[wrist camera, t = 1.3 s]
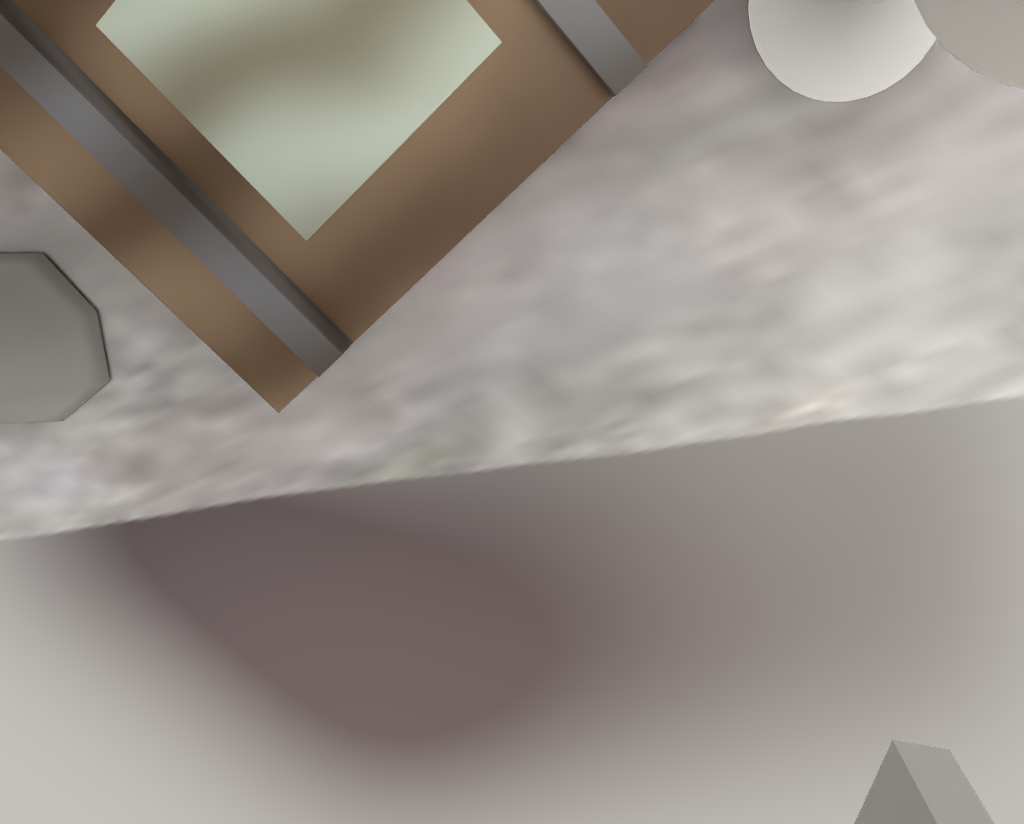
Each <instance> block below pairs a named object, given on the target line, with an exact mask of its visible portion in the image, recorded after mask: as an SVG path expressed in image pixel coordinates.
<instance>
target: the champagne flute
mask: <svg viewBox="0 0 1024 824" xmlns="http://www.w3.org/2000/svg"><path fill="white" fill-rule="evenodd" d="M748 13H749V22H750V30H751V33H752V36H753V40H754V43H755V46H756V49H757V51H758V53H759V55H760V56H761V58H762V60H763V62H764V63H765V65H766V67H767V68H768V69H769V70H770V71H771V72H772V73H773V75H774V76H775V77H776V78H777V79H778V80H779V81H780V82H782V83H783V84H784V85H786V86H787V87H788V88H790V89H791V90H793V91H794V92H797V93H799V94H801V95H804V96H806V97H808V98H811V99H816V100H822V101H827V102H844V101H852V100H857V99H861V98H865V97H869V96H871V95H873V94H876V93H878V92H880V91H882V90H885V89H887V88H888V87H890V86H891V85H893V84H894V83H896V82H897V81H899V80H900V79H902V78H903V77H905V76H906V75H907V74H908V73H909V72H910V71H911V70H912V69H913V68H914V67H915V66H916V65H917V64H918V63H919V62H920V61H921V60H922V59H923V57H924V56H925V55H926V53H927V52H928V51H929V49H930V48H931V47H932V45H933V44H934V42H935V40H936V38H937V39H938V41H939V42H940V43H941V44H942V45H943V47H944V48H945V49H946V50H947V51H948V52H949V53H950V54H952V55H953V56H954V57H956V58H957V59H958V60H960V61H961V62H962V63H964V64H965V65H966V66H968V67H969V68H970V69H971V70H973V71H976V72H978V73H980V74H983V75H985V76H987V77H990V78H992V79H994V80H996V81H999V82H1001V83H1003V84H1006V85H1008V86H1012V87H1018V88H1023V89H1024V0H749V2H748Z"/></svg>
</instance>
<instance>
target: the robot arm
mask: <svg viewBox="0 0 1024 824" xmlns="http://www.w3.org/2000/svg"><path fill="white" fill-rule="evenodd" d="M855 824H994V822H993V821H992V819H991V817H990V816H989V814H988V812H987V811H986V809H985V807H984V806H983V804H982V802H981V801H980V799H979V797H978V796H977V794H976V793H975V791H974V789H973V788H972V786H971V784H970V783H969V781H968V780H967V778H966V776H965V775H964V773H963V771H962V770H961V768H960V766H959V765H958V763H957V761H956V760H955V758H954V757H953V755H952V753H951V752H950V750H946V749H940V748H935V747H929V746H924V745H918V744H913V743H907V742H902V741H896V740H892V742H891V745H890V747H889V749H888V751H887V754H886V755H885V758H884V760H883V762H882V765H881V766H880V769H879V771H878V773H877V775H876V777H875V780H874V782H873V784H872V786H871V788H870V791H869V793H868V795H867V797H866V799H865V802H864V804H863V806H862V808H861V811H860V813H859V815H858V817H857V819H856V821H855Z"/></svg>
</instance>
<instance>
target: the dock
mask: <svg viewBox="0 0 1024 824" xmlns="http://www.w3.org/2000/svg"><path fill="white" fill-rule="evenodd" d="M713 1H714V0H0V149H1V150H2V151H3V152H4V153H5V154H7V155H8V156H9V157H10V158H11V159H12V160H13V161H14V162H15V163H16V164H17V165H18V166H19V167H20V168H21V169H22V170H23V171H24V172H25V173H27V174H28V175H29V176H30V177H31V178H32V179H33V180H34V181H35V182H36V183H37V184H38V185H39V186H40V187H41V188H42V189H43V190H44V191H45V192H47V193H48V194H49V195H50V196H51V197H52V198H53V199H54V200H55V201H56V202H57V203H58V204H59V205H60V206H61V207H62V208H63V209H64V210H65V211H67V212H68V213H69V214H70V215H71V216H72V217H73V218H74V219H75V220H76V221H77V222H78V223H79V224H80V225H81V226H82V227H83V228H84V229H85V230H87V231H88V232H89V233H90V234H91V235H92V236H93V237H94V238H95V239H96V240H97V241H98V242H99V243H100V244H101V245H102V246H103V247H104V248H106V249H107V250H108V251H109V252H110V253H111V254H112V255H113V256H114V257H115V258H116V259H117V260H118V261H119V262H120V263H121V264H122V265H123V266H124V267H126V268H127V269H128V270H129V271H130V272H131V273H132V274H133V275H134V276H135V277H136V278H137V279H138V280H139V281H140V282H141V283H142V284H143V285H144V286H146V287H147V288H148V289H149V290H150V291H151V292H152V293H153V294H154V295H155V296H156V297H157V298H158V299H159V300H160V301H161V302H162V303H163V304H164V305H166V306H167V307H168V308H169V309H170V310H171V311H172V312H173V313H174V314H175V315H176V316H177V317H178V318H179V319H180V320H181V321H182V322H183V323H184V324H186V325H187V326H188V327H189V328H190V329H191V330H192V331H193V332H194V333H195V334H196V335H197V336H198V337H199V338H200V339H201V340H202V341H203V342H204V343H206V344H207V345H208V346H209V347H210V348H211V349H212V350H213V351H214V352H215V353H216V354H217V355H218V356H219V357H220V358H221V359H222V360H223V361H224V362H226V363H227V364H228V365H229V366H230V367H231V368H232V369H233V370H234V371H235V372H236V373H237V374H238V375H239V376H240V377H241V378H242V379H243V380H245V381H246V382H247V383H248V384H249V385H250V386H251V387H252V388H253V389H254V390H255V391H256V392H257V393H258V394H259V395H260V396H261V397H262V398H263V399H265V400H266V401H267V402H268V403H269V404H270V405H271V406H272V407H273V408H274V409H275V410H276V411H277V412H278V413H279V412H280V411H281V410H282V409H283V408H284V407H285V406H287V405H288V404H289V403H290V402H291V401H292V400H293V399H294V398H295V397H296V396H297V395H298V394H299V393H300V392H301V391H302V390H303V389H304V388H306V387H307V386H308V385H309V384H310V383H311V382H312V381H313V380H314V379H315V378H316V377H317V376H318V377H319V376H320V375H321V374H322V373H323V372H324V371H325V370H326V369H327V368H329V367H330V366H331V365H332V364H333V363H334V362H335V361H336V360H337V359H338V358H339V357H340V356H341V355H342V354H343V353H344V352H345V351H346V350H347V349H348V348H349V346H350V345H351V344H352V343H353V342H354V341H355V340H356V339H357V338H358V337H359V336H360V335H362V334H363V333H364V332H365V331H366V330H367V329H368V328H369V327H370V326H371V325H372V324H373V323H374V322H375V321H376V320H377V319H378V318H379V317H381V316H382V315H383V314H384V313H385V312H386V311H387V310H388V309H389V308H390V307H391V306H392V305H393V304H394V303H395V302H396V301H397V300H398V299H400V298H401V297H402V296H403V295H404V294H405V293H406V292H407V291H408V290H409V289H410V288H411V287H412V286H413V285H414V284H415V283H416V282H417V281H419V280H420V279H421V278H422V277H423V276H424V275H425V274H426V273H427V272H428V271H429V270H430V269H431V268H432V267H433V266H434V265H435V264H436V263H438V262H439V261H440V260H441V259H442V258H443V257H444V256H445V255H446V254H447V253H448V252H449V251H450V250H451V249H452V248H453V247H454V246H455V245H457V244H458V243H459V242H460V241H461V240H462V239H463V238H464V237H465V236H466V235H467V234H468V233H469V232H470V231H471V230H472V229H473V228H474V227H476V226H477V225H478V224H479V223H480V222H481V221H482V220H483V219H484V218H485V217H486V216H487V215H488V214H489V213H490V212H491V211H492V210H493V209H495V208H496V207H497V206H498V205H499V204H500V203H501V202H502V201H503V200H504V199H505V198H506V197H507V196H508V195H509V194H510V193H511V192H512V191H514V190H515V189H516V188H517V187H518V186H519V185H520V184H521V183H522V182H523V181H524V180H525V179H526V178H527V177H528V176H529V175H530V174H531V173H533V172H534V171H535V170H536V169H537V168H538V167H539V166H540V165H541V164H542V163H543V162H544V161H545V160H546V159H547V158H548V157H549V156H550V155H552V154H553V153H554V152H555V151H556V150H557V149H558V148H559V147H560V146H561V145H562V144H563V143H564V142H565V141H566V140H567V139H568V138H570V137H571V136H572V135H573V134H574V133H575V132H576V131H577V130H578V129H579V128H580V127H581V126H582V125H583V124H584V123H585V122H586V121H587V120H589V119H590V118H591V117H592V116H593V115H594V114H595V113H596V112H597V111H598V110H599V109H600V108H601V107H602V106H603V105H604V104H605V103H606V102H608V101H609V100H610V99H611V98H612V97H613V96H616V95H617V94H618V93H619V92H620V91H621V90H622V89H623V88H624V87H626V86H627V85H628V84H629V83H630V82H631V81H632V80H633V79H634V78H635V77H636V76H637V75H638V74H639V73H640V72H641V71H642V70H643V69H645V68H646V67H647V64H648V63H649V62H650V61H651V60H652V59H653V58H654V57H655V56H656V55H657V54H658V53H659V52H660V51H661V50H662V49H663V48H665V47H666V46H667V45H668V44H669V43H670V42H671V41H672V40H673V39H674V38H675V37H676V36H677V35H678V34H679V33H680V32H681V31H682V30H684V29H685V28H686V27H687V26H688V25H689V24H690V23H691V22H692V21H693V20H694V19H695V18H696V17H697V16H698V15H699V14H700V13H701V12H703V11H704V10H705V9H706V8H707V7H708V6H709V5H710V4H711V3H712V2H713Z"/></svg>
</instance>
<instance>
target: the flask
mask: <svg viewBox="0 0 1024 824" xmlns="http://www.w3.org/2000/svg"><path fill="white" fill-rule="evenodd" d="M109 382H110V378H109V373H108V368H107V362H106V357H105V352H104V347H103V341H102V336H101V331H100V325H99V320H98V315H97V311H96V310H95V309H94V308H93V307H92V306H91V305H90V304H89V303H88V302H87V301H86V299H85V298H84V297H83V296H82V295H81V294H80V293H79V292H78V291H77V290H76V289H75V288H74V287H73V285H72V284H71V283H70V282H69V281H68V280H67V279H66V278H65V277H64V276H63V275H62V274H61V273H60V272H59V270H58V269H57V268H56V267H55V266H54V265H53V264H52V263H51V262H50V261H49V260H48V259H47V258H46V257H45V255H44V254H43V253H0V424H11V423H36V422H53V421H64V420H65V419H66V418H67V417H68V416H70V415H71V414H72V413H73V412H74V411H75V410H77V409H78V408H79V407H80V406H81V405H83V404H84V403H85V402H86V401H87V400H88V399H90V398H91V397H92V396H93V395H94V394H96V393H97V392H98V391H99V390H100V389H102V388H103V387H104V386H105V385H106V384H107V383H109Z"/></svg>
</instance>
